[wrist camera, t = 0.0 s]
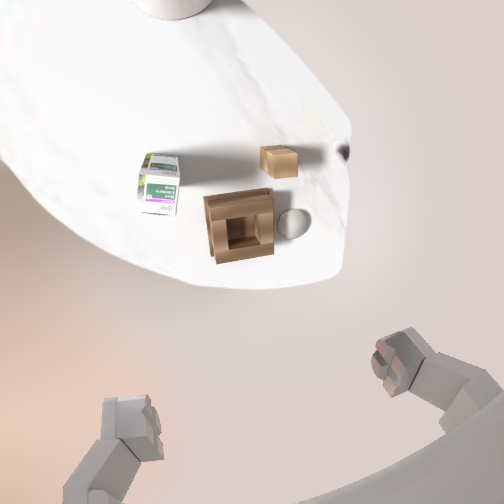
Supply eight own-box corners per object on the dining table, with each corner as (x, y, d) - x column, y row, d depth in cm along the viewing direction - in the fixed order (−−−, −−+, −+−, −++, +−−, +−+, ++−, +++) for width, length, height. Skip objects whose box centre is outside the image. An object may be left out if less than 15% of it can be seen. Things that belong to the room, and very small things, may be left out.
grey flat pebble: (277, 210, 61) (279, 213, 60) (305, 206, 62) (308, 209, 61) (277, 237, 64) (280, 240, 63) (304, 233, 65) (307, 236, 64)
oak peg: (259, 147, 54) (273, 154, 47) (280, 145, 55) (297, 152, 48) (260, 168, 56) (274, 178, 49) (281, 166, 56) (297, 176, 50)
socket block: (203, 196, 55) (206, 205, 51) (266, 188, 58) (275, 196, 54) (210, 254, 61) (214, 267, 57) (268, 244, 64) (276, 255, 59)
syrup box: (178, 156, 51) (181, 175, 39) (174, 188, 53) (176, 217, 41) (146, 153, 49) (138, 171, 37) (143, 185, 52) (134, 214, 39)
